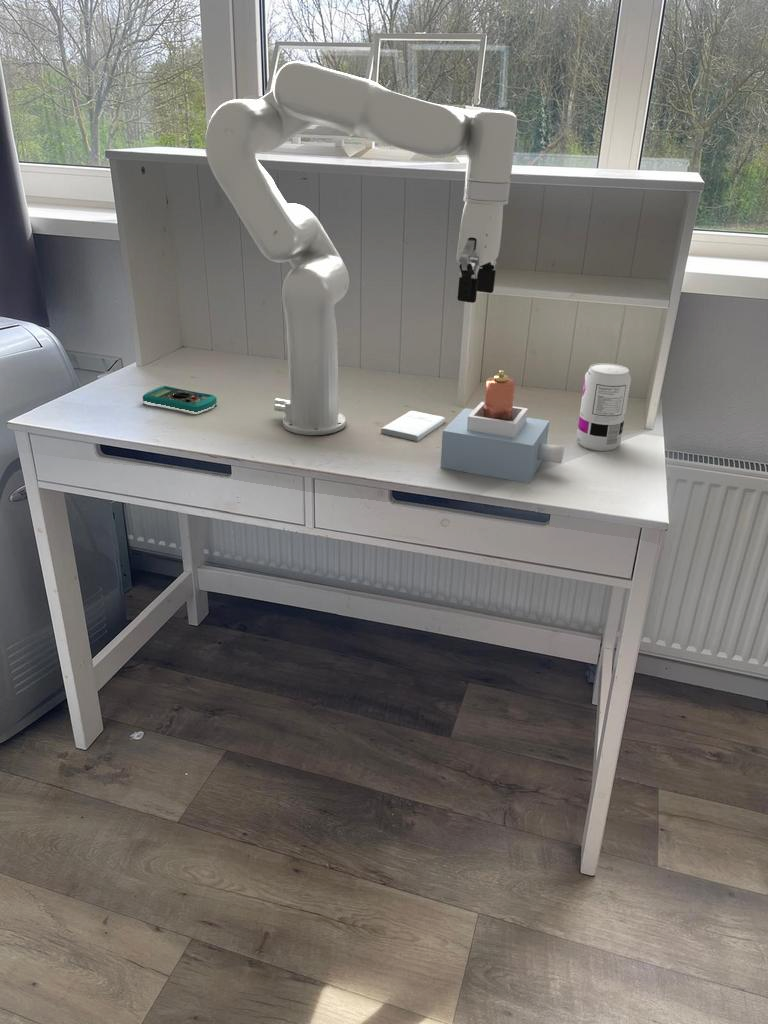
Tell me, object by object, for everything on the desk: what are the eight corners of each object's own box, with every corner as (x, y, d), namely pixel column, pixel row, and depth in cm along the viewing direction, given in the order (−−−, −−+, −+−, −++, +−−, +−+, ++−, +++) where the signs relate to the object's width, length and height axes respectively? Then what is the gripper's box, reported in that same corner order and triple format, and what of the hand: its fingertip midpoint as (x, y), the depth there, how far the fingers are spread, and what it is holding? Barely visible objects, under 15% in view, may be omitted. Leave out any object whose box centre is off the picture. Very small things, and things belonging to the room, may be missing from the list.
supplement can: (567, 443, 151) (577, 367, 144) (591, 433, 156) (601, 359, 149) (604, 455, 146) (617, 377, 139) (627, 444, 151) (640, 369, 144)
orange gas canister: (479, 426, 138) (483, 372, 133) (487, 417, 142) (491, 365, 137) (506, 431, 136) (512, 376, 132) (514, 422, 140) (519, 369, 136)
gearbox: (440, 467, 139) (443, 417, 135) (462, 442, 150) (465, 395, 146) (552, 487, 133) (558, 435, 128) (566, 460, 143) (573, 411, 139)
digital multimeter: (199, 418, 161) (197, 404, 160) (142, 406, 166) (140, 393, 165) (220, 407, 167) (219, 394, 166) (164, 396, 172) (162, 383, 171)
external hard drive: (380, 435, 154) (409, 416, 164) (417, 443, 151) (445, 424, 160) (380, 427, 153) (410, 409, 163) (417, 435, 150) (445, 416, 160)
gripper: (481, 187, 139) (471, 285, 147) (447, 194, 125) (438, 302, 133) (522, 191, 137) (510, 291, 144) (491, 198, 122) (480, 308, 130)
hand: (475, 296), depth 139 cm, fingers open, 9 cm apart
